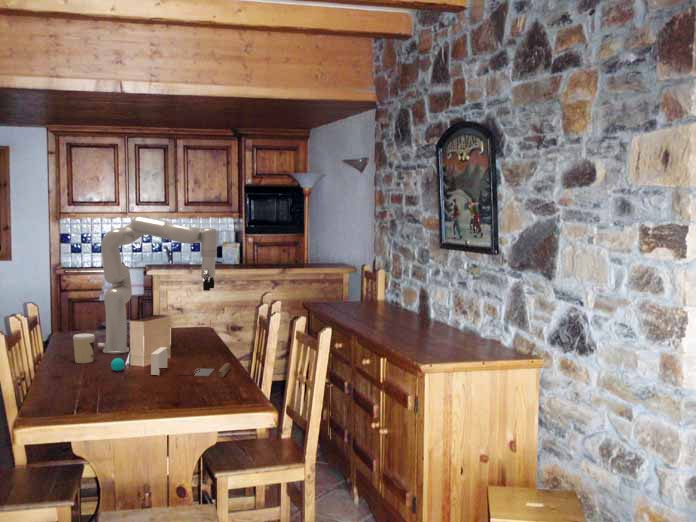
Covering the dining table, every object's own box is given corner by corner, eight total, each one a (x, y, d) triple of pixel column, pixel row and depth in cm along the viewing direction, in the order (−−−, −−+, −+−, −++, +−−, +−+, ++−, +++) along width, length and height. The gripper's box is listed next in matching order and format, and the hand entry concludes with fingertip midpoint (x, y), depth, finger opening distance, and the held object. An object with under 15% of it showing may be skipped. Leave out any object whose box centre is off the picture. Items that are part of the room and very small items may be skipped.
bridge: (151, 375, 307) (151, 353, 306) (160, 367, 322) (160, 347, 321) (158, 375, 307) (158, 354, 306) (167, 367, 321) (167, 347, 321)
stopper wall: (218, 377, 306) (218, 371, 306) (225, 368, 322) (225, 363, 322) (223, 377, 306) (223, 371, 306) (229, 368, 322) (229, 363, 322)
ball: (109, 372, 312) (109, 359, 311) (113, 369, 317) (113, 356, 317) (122, 372, 312) (121, 359, 311) (126, 369, 317) (126, 356, 317)
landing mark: (177, 375, 308) (177, 375, 308) (184, 368, 321) (184, 368, 321) (208, 376, 307) (208, 375, 307) (214, 369, 320) (214, 368, 320)
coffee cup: (95, 362, 329) (95, 336, 328) (73, 364, 326) (73, 337, 325) (94, 358, 338) (94, 332, 337) (73, 359, 334) (72, 333, 334)
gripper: (204, 252, 359) (204, 287, 360) (197, 255, 342) (197, 291, 343) (220, 252, 359) (220, 287, 360) (213, 255, 341) (212, 291, 343)
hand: (208, 289), depth 351 cm, fingers open, 9 cm apart
